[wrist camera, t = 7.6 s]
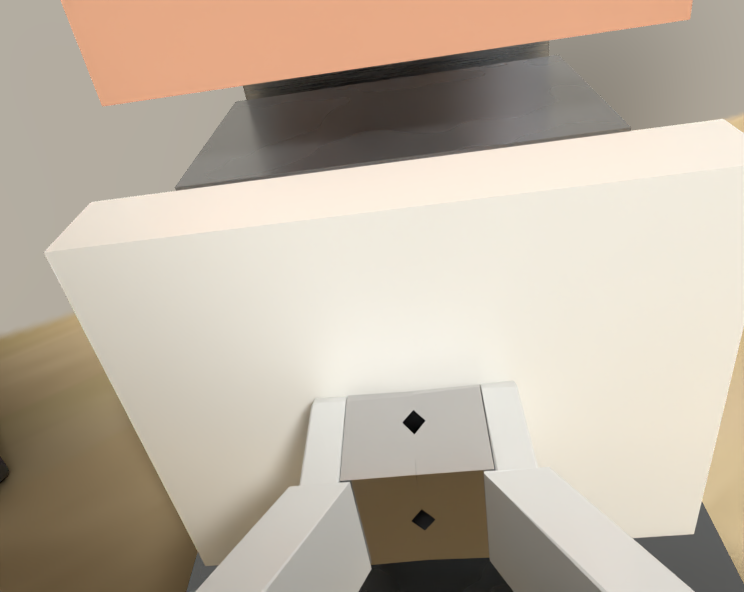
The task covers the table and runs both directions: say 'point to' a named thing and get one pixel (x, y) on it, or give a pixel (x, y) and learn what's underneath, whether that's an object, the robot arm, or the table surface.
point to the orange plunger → (315, 36)
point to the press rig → (416, 141)
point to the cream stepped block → (429, 313)
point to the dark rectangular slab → (3, 470)
